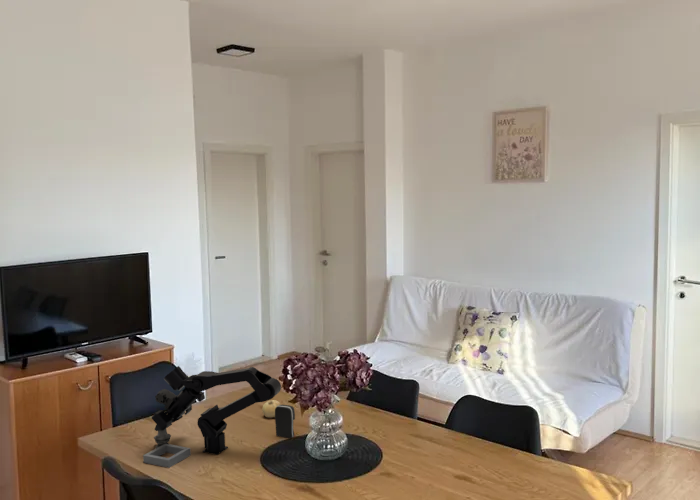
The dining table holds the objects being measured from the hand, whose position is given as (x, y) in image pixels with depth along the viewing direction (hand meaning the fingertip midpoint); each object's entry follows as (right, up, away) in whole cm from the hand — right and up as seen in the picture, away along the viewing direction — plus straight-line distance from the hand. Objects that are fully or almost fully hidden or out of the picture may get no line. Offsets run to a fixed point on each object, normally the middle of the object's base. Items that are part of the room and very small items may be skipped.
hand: (158, 428), depth 232 cm
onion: (+37, -3, +28) cm, 47 cm away
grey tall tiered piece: (+2, -7, 0) cm, 7 cm away
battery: (+45, -5, +7) cm, 46 cm away
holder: (+6, -7, -11) cm, 15 cm away
